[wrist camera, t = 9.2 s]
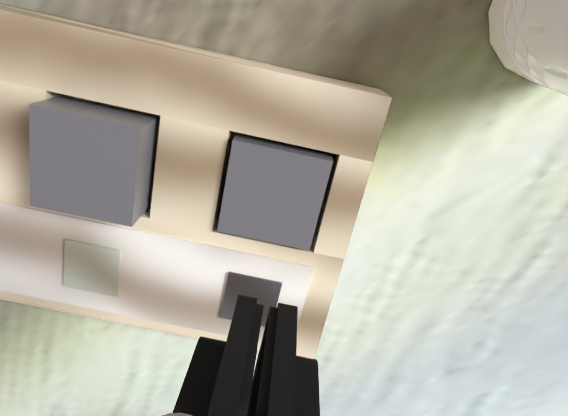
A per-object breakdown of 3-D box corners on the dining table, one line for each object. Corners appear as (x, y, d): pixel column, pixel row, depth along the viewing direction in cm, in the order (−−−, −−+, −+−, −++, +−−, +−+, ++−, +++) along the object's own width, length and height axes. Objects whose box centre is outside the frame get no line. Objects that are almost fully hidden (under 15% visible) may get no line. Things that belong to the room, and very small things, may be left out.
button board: (312, 325, 30) (313, 366, 26) (-91, 244, 29) (-147, 275, 25) (380, 89, 24) (394, 99, 20) (-124, -25, 23) (-204, -36, 19)
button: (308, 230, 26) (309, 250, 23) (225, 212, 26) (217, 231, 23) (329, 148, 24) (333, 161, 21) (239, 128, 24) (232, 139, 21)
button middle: (148, 207, 24) (131, 226, 22) (57, 188, 24) (29, 205, 21) (158, 117, 22) (140, 128, 20) (59, 96, 22) (29, 104, 20)
